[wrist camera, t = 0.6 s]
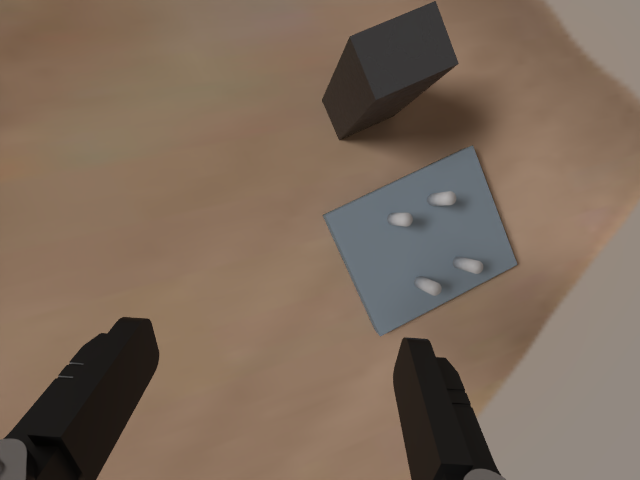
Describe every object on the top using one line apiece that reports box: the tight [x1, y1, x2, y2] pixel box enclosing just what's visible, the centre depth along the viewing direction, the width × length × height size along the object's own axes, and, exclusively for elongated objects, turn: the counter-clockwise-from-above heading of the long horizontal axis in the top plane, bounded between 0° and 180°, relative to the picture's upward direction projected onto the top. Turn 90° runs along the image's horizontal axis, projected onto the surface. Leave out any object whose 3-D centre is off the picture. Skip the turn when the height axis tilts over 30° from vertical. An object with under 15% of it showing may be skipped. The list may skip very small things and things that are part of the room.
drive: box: [322, 1, 458, 140], centre depth 25 cm, size 4×6×11 cm, turn 115°
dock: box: [323, 146, 517, 336], centre depth 31 cm, size 13×16×4 cm
